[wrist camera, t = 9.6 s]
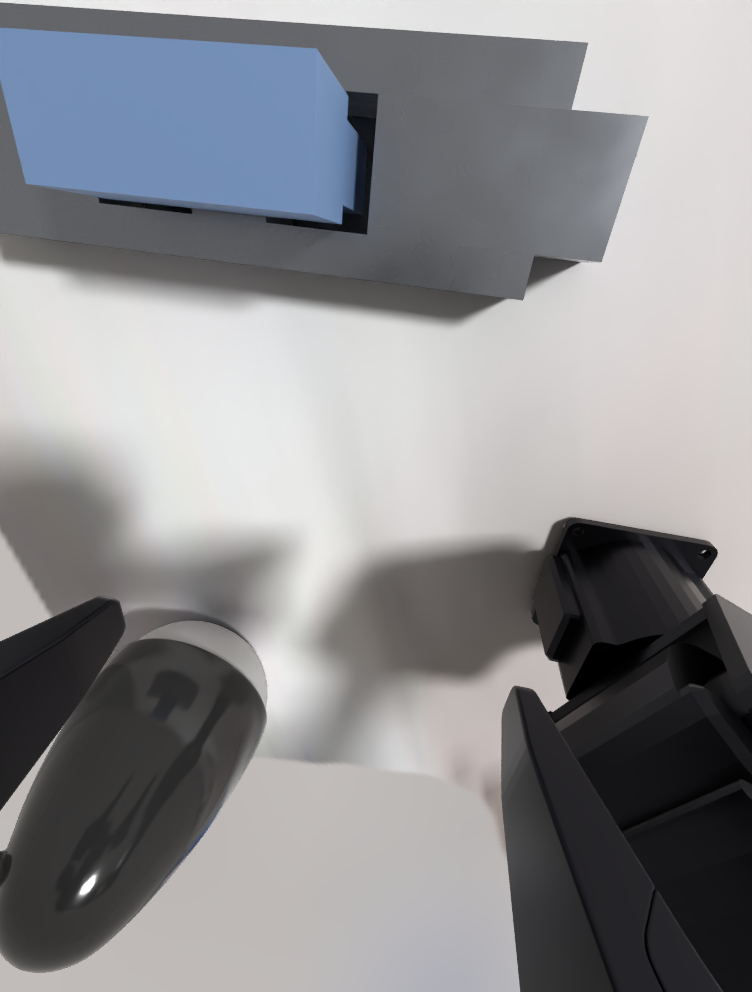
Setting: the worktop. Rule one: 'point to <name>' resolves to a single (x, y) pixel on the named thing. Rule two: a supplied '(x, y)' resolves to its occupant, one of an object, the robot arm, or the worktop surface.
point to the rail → (385, 159)
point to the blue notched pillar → (183, 123)
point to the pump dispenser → (128, 790)
